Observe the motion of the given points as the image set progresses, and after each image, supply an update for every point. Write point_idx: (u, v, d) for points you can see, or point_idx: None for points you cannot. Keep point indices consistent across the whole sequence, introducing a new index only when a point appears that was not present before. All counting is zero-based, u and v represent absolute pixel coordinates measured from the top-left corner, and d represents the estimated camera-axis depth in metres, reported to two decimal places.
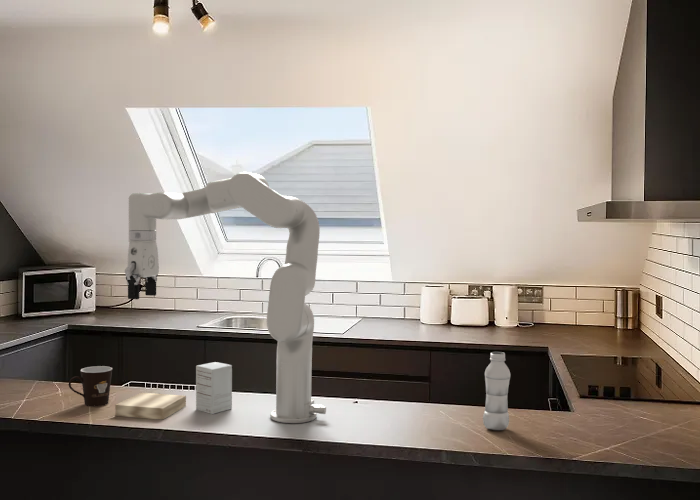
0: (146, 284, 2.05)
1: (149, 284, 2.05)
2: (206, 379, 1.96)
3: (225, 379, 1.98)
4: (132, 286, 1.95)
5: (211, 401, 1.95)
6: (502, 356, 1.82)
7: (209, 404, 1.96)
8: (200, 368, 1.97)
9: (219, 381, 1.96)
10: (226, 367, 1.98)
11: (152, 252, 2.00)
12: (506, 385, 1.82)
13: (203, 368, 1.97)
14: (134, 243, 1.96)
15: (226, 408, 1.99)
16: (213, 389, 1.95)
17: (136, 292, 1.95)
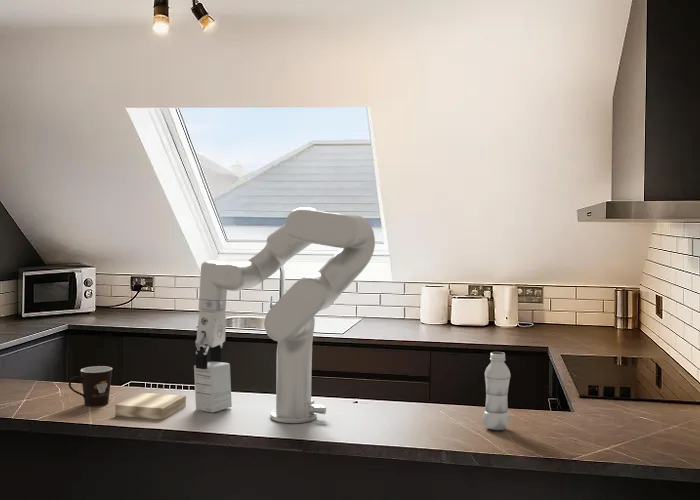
0: (212, 350, 2.04)
1: (215, 350, 2.04)
2: (204, 378, 1.96)
3: (224, 378, 1.98)
4: (201, 356, 1.94)
5: (211, 400, 1.95)
6: (502, 356, 1.82)
7: (209, 403, 1.96)
8: None
9: (218, 379, 1.97)
10: (224, 365, 1.99)
11: (221, 321, 1.99)
12: (506, 385, 1.82)
13: None
14: (205, 313, 1.94)
15: (226, 406, 1.99)
16: (212, 387, 1.95)
17: (204, 362, 1.94)
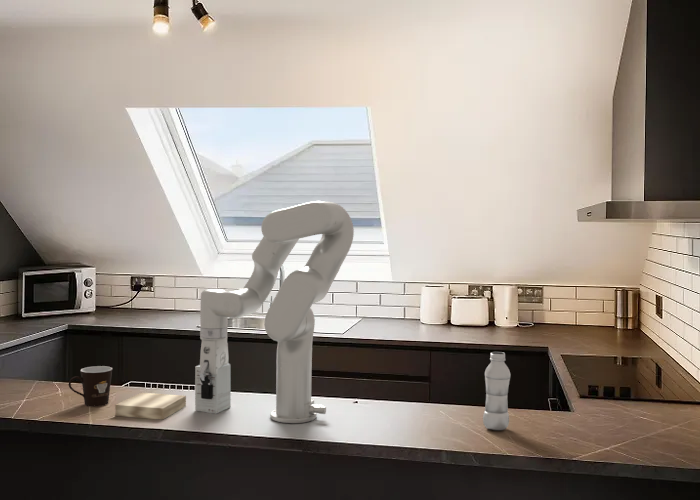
0: None
1: None
2: None
3: (226, 378, 1.99)
4: (206, 386, 1.94)
5: (215, 401, 1.95)
6: (502, 356, 1.82)
7: (212, 404, 1.96)
8: None
9: (221, 380, 1.97)
10: (226, 366, 1.99)
11: (223, 348, 1.99)
12: (506, 385, 1.82)
13: None
14: (207, 342, 1.95)
15: (226, 407, 2.00)
16: (217, 388, 1.95)
17: (210, 392, 1.95)
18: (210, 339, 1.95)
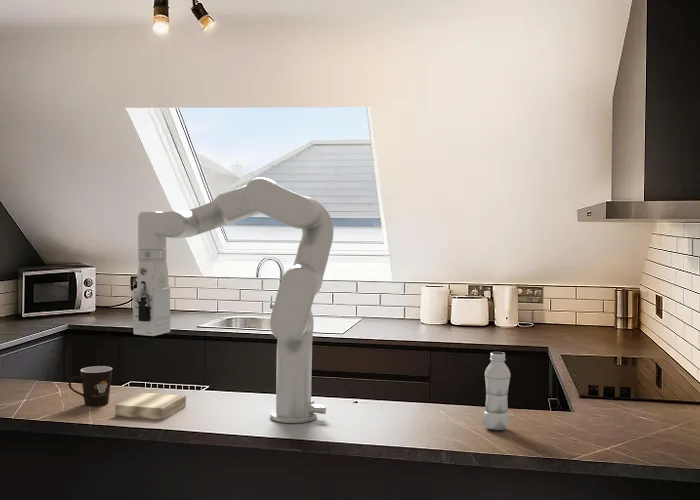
0: None
1: None
2: None
3: (164, 302, 1.95)
4: (143, 308, 1.91)
5: (152, 323, 1.92)
6: (502, 356, 1.82)
7: (149, 327, 1.92)
8: None
9: (160, 303, 1.94)
10: (165, 289, 1.96)
11: (162, 271, 1.95)
12: (506, 385, 1.82)
13: None
14: (144, 263, 1.91)
15: (165, 331, 1.96)
16: (154, 310, 1.92)
17: (147, 314, 1.91)
18: (147, 260, 1.92)
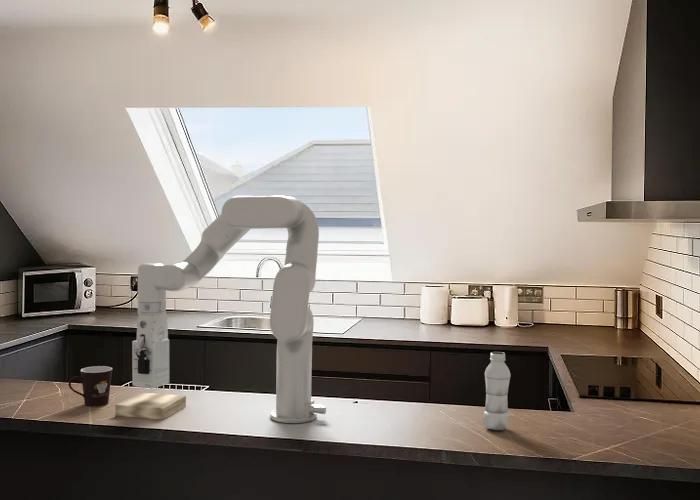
0: None
1: None
2: None
3: (163, 353, 1.96)
4: (142, 361, 1.91)
5: (151, 376, 1.92)
6: (502, 356, 1.82)
7: (148, 379, 1.93)
8: None
9: (159, 355, 1.94)
10: (164, 341, 1.96)
11: (161, 323, 1.96)
12: (506, 385, 1.82)
13: None
14: (143, 316, 1.92)
15: (164, 382, 1.97)
16: (153, 363, 1.92)
17: (146, 367, 1.92)
18: (147, 313, 1.92)
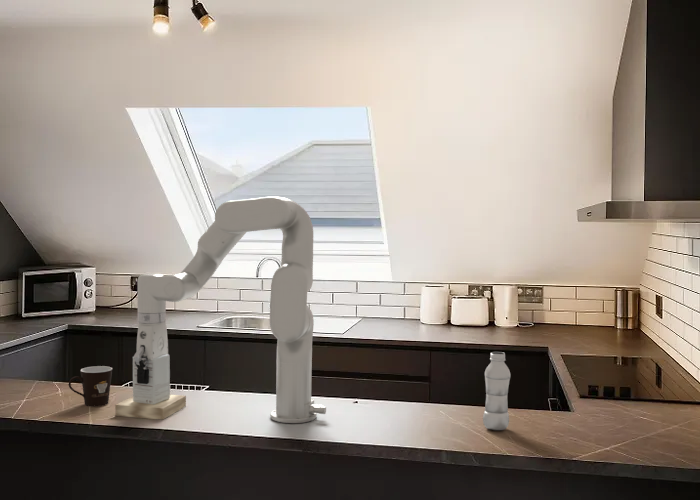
0: None
1: None
2: None
3: (164, 369, 1.96)
4: (142, 370, 1.91)
5: (152, 391, 1.92)
6: (502, 356, 1.82)
7: (149, 395, 1.93)
8: None
9: (159, 371, 1.94)
10: (165, 357, 1.96)
11: (161, 334, 1.96)
12: (506, 385, 1.82)
13: None
14: (143, 326, 1.92)
15: (165, 398, 1.97)
16: (154, 379, 1.92)
17: (145, 377, 1.91)
18: (147, 324, 1.93)
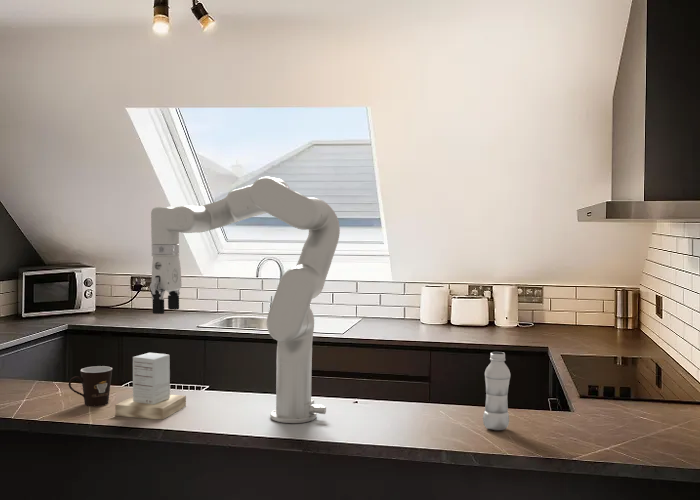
0: (169, 298, 2.04)
1: (172, 298, 2.04)
2: (145, 369, 1.93)
3: (164, 369, 1.96)
4: (157, 300, 1.94)
5: (152, 391, 1.92)
6: (502, 356, 1.82)
7: (149, 395, 1.93)
8: (138, 359, 1.94)
9: (159, 371, 1.94)
10: (165, 357, 1.96)
11: (175, 266, 1.99)
12: (506, 385, 1.82)
13: (142, 359, 1.93)
14: (158, 257, 1.95)
15: (165, 398, 1.97)
16: (154, 379, 1.92)
17: (161, 307, 1.94)
18: (161, 255, 1.95)
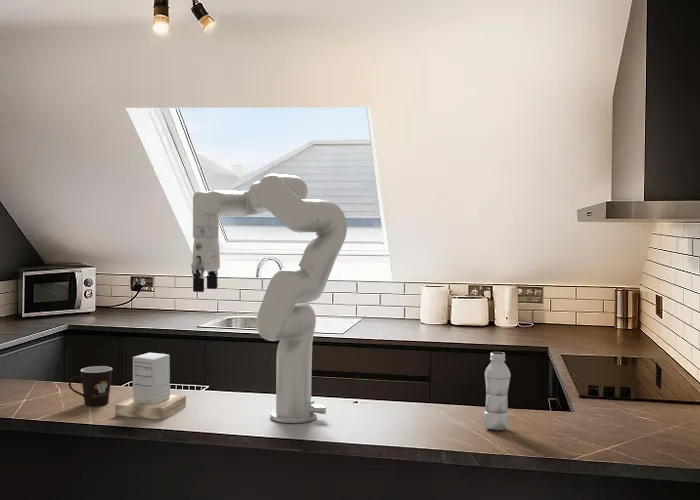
0: (207, 278, 2.16)
1: (210, 278, 2.16)
2: (145, 369, 1.93)
3: (164, 369, 1.96)
4: (198, 279, 2.06)
5: (152, 391, 1.92)
6: (502, 356, 1.82)
7: (149, 395, 1.93)
8: (138, 359, 1.94)
9: (159, 371, 1.94)
10: (165, 357, 1.96)
11: (215, 247, 2.11)
12: (506, 385, 1.82)
13: (142, 359, 1.93)
14: (199, 239, 2.07)
15: (165, 398, 1.97)
16: (154, 379, 1.92)
17: (201, 285, 2.06)
18: (202, 237, 2.07)
